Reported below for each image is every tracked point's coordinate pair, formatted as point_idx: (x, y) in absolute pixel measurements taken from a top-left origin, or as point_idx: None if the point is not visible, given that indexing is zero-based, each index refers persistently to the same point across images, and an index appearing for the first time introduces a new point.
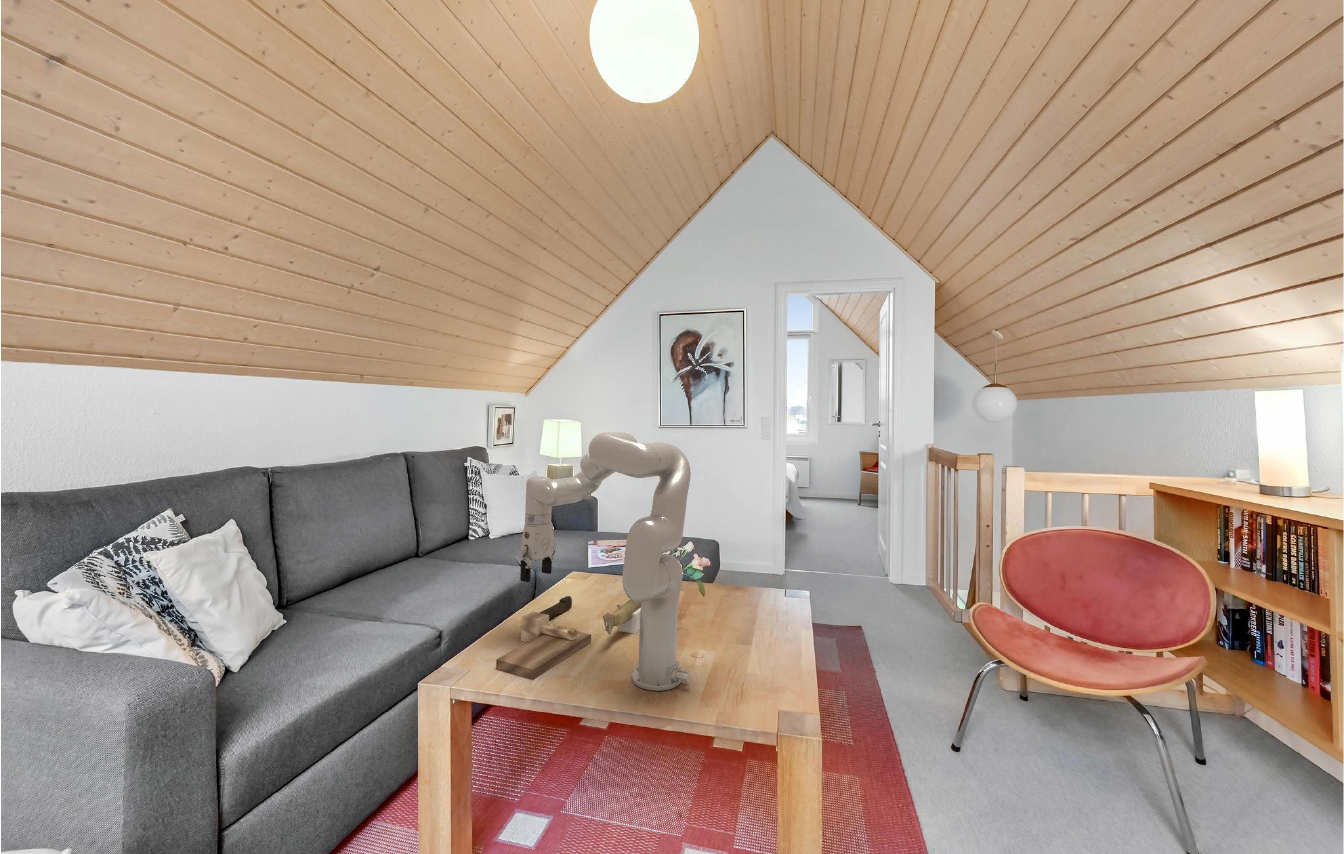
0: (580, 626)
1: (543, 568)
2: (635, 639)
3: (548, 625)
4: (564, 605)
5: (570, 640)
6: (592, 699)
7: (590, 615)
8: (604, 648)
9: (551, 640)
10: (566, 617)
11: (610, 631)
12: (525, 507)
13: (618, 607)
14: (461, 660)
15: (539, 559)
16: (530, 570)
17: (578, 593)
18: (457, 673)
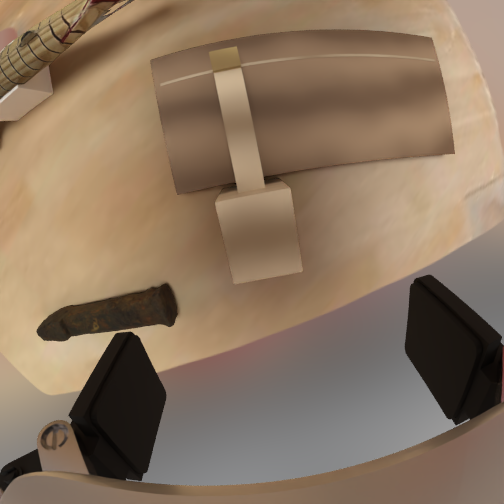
0: (93, 191)
1: (153, 407)
2: None
3: (237, 176)
4: (66, 314)
5: None
6: None
7: (36, 237)
8: (165, 16)
9: (279, 113)
10: (86, 276)
11: None
12: None
13: (34, 30)
14: (446, 252)
15: (458, 428)
16: (475, 327)
17: (15, 356)
18: (481, 206)
